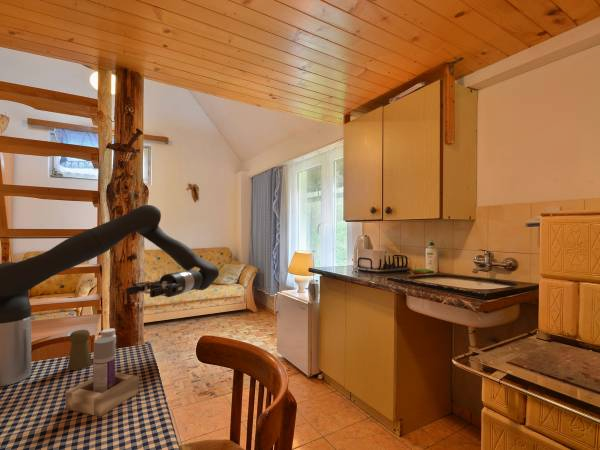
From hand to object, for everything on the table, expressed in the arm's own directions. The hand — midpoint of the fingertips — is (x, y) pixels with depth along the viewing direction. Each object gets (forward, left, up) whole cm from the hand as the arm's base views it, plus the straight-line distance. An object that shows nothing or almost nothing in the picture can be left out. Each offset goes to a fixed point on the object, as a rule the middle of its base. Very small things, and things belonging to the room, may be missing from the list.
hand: (138, 292), depth 87 cm
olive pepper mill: (-24, +1, -25) cm, 35 cm away
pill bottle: (-23, +10, -25) cm, 35 cm away
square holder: (0, -11, -25) cm, 27 cm away
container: (0, -11, -25) cm, 27 cm away
